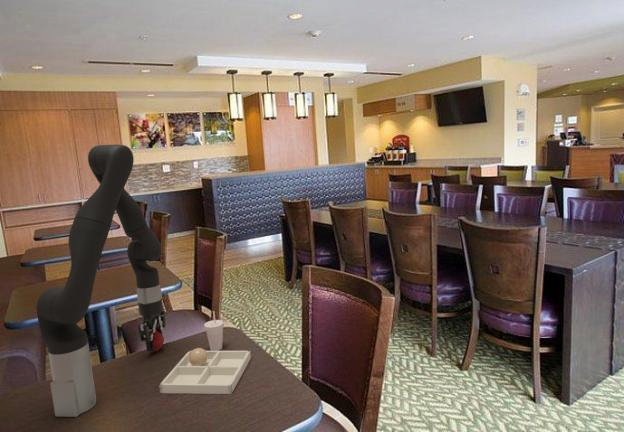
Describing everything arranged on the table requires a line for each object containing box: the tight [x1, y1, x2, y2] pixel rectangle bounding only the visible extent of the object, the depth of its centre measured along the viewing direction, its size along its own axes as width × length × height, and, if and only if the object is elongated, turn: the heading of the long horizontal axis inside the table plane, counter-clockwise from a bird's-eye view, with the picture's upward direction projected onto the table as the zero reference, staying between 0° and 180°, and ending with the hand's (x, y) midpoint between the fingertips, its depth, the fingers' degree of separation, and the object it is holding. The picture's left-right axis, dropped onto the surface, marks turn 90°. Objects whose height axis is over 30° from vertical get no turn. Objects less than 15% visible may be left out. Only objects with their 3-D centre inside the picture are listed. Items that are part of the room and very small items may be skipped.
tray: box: [158, 350, 252, 395], centre depth 127 cm, size 20×20×3 cm
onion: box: [144, 329, 165, 352], centre depth 144 cm, size 6×6×8 cm
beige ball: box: [189, 347, 208, 366], centre depth 132 cm, size 6×6×6 cm
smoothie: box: [203, 310, 224, 351], centre depth 143 cm, size 6×6×14 cm
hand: (155, 346), depth 144 cm, fingers closed on onion, 6 cm apart
